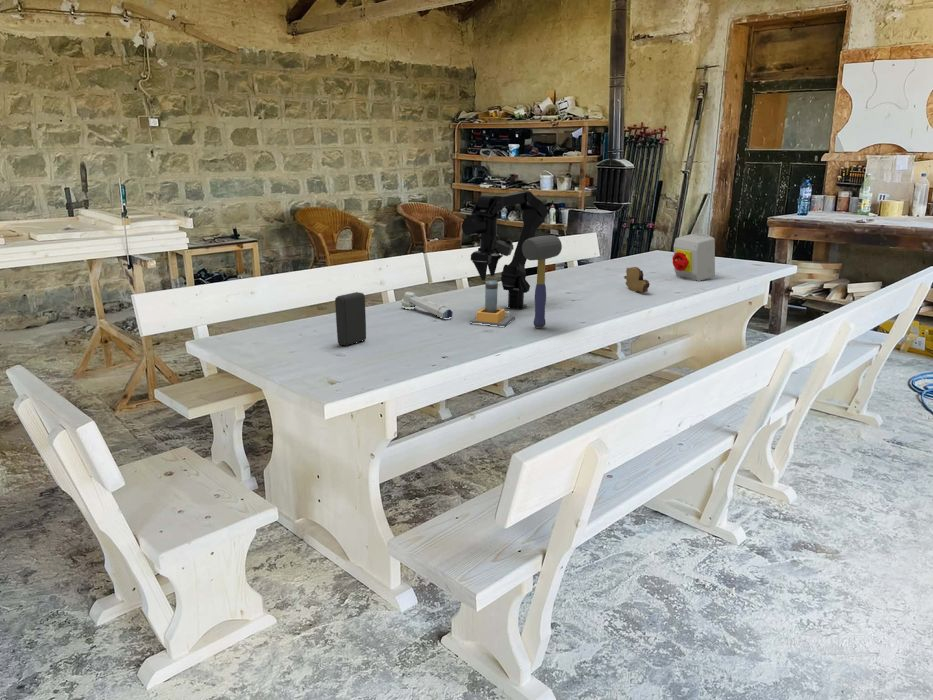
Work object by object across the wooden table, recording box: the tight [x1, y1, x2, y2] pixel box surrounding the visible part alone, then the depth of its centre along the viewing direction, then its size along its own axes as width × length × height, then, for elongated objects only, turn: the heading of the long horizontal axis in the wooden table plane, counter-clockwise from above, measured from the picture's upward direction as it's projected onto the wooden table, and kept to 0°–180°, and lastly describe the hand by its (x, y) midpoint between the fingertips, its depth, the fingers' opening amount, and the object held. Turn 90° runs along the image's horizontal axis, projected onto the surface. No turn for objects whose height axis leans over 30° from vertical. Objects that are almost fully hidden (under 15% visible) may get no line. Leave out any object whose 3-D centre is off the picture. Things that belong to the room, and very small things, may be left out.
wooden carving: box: [623, 266, 651, 294], centre depth 281 cm, size 16×5×10 cm, turn 22°
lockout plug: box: [484, 279, 499, 313], centre depth 231 cm, size 4×4×13 cm
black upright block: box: [334, 291, 367, 346], centre depth 208 cm, size 9×4×15 cm, turn 141°
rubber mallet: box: [522, 234, 563, 329], centre depth 223 cm, size 12×8×30 cm, turn 133°
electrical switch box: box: [671, 232, 716, 282], centre depth 306 cm, size 15×15×20 cm
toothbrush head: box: [400, 291, 453, 319], centre depth 246 cm, size 5×7×25 cm
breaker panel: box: [469, 306, 516, 327], centre depth 234 cm, size 12×12×4 cm
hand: (488, 277), depth 241 cm, fingers open, 9 cm apart
